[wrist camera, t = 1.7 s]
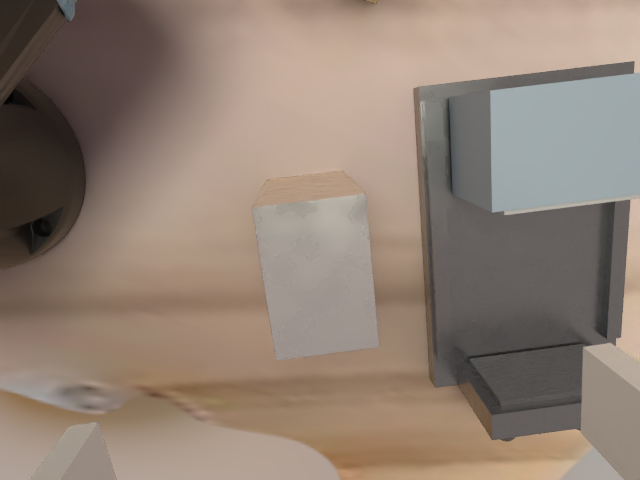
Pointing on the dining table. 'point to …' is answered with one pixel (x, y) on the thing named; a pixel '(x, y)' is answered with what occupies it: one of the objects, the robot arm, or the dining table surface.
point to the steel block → (316, 264)
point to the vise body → (514, 281)
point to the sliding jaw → (547, 145)
